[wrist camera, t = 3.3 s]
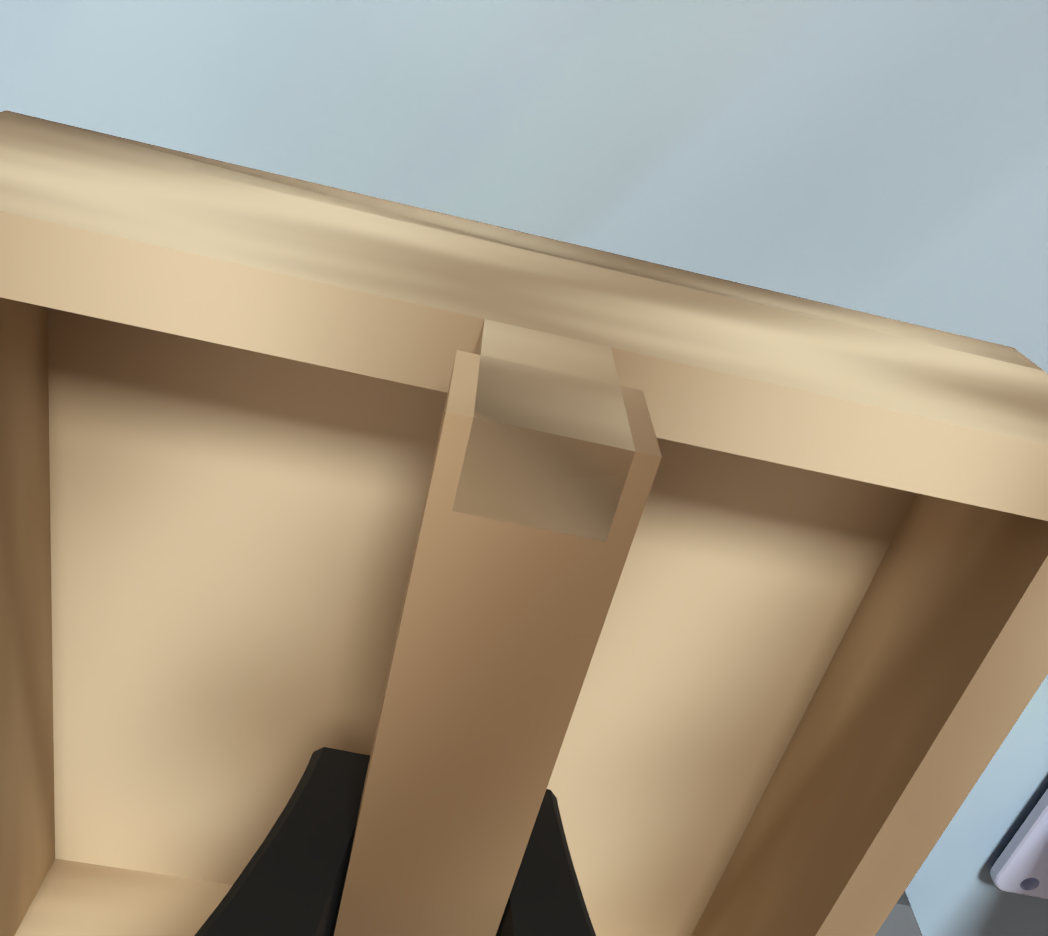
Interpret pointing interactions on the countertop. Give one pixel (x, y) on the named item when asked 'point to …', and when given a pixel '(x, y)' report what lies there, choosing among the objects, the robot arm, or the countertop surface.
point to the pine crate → (480, 561)
